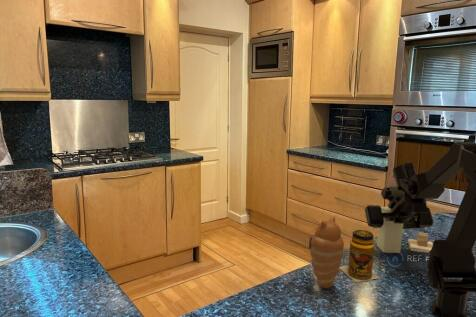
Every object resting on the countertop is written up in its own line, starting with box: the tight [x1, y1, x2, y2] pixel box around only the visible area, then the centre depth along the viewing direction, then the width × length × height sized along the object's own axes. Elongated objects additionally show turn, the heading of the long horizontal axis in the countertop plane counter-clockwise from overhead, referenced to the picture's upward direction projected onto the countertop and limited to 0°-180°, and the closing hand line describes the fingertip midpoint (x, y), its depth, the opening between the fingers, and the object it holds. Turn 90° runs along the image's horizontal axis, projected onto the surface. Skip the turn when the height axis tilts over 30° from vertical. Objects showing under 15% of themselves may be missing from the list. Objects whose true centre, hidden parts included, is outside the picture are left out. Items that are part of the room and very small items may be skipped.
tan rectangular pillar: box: [376, 206, 404, 254], centre depth 111 cm, size 5×5×13 cm
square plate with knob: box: [407, 232, 433, 254], centre depth 113 cm, size 7×7×4 cm
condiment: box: [339, 229, 380, 283], centre depth 96 cm, size 7×8×12 cm
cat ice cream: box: [310, 216, 345, 289], centre depth 88 cm, size 9×8×18 cm
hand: (388, 227), depth 112 cm, fingers open, 9 cm apart
